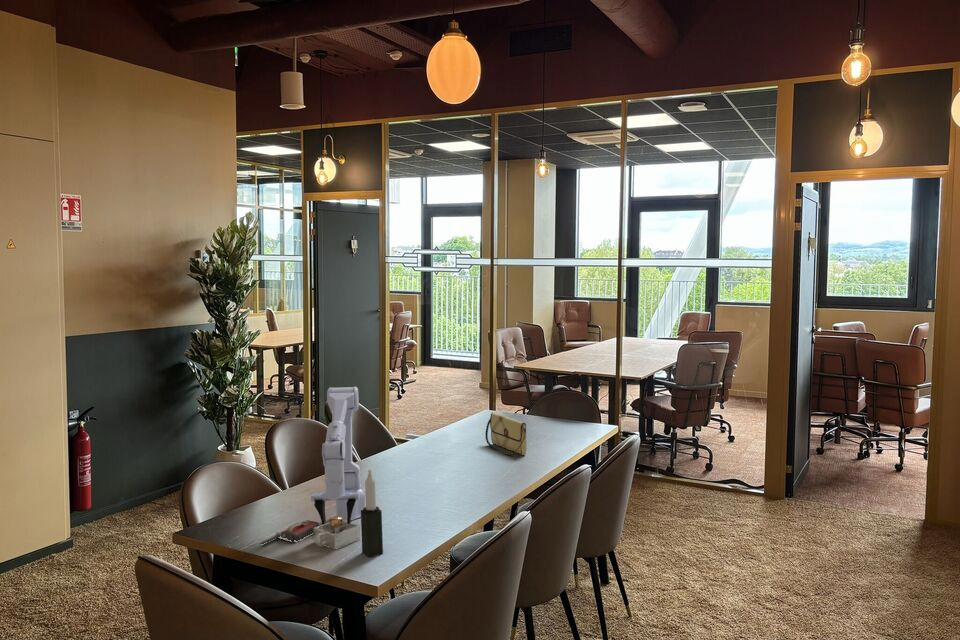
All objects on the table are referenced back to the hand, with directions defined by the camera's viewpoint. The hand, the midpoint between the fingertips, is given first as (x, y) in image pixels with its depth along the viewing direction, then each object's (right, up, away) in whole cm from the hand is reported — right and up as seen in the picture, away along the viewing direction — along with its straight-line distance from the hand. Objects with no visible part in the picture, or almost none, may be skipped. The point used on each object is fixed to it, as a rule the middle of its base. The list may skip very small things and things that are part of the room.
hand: (336, 523), depth 227 cm
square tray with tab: (0, -6, 0) cm, 6 cm away
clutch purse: (+55, +3, +105) cm, 119 cm away
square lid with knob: (0, -6, 0) cm, 6 cm away
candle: (+12, -6, -10) cm, 17 cm away
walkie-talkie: (-15, -6, +4) cm, 16 cm away
